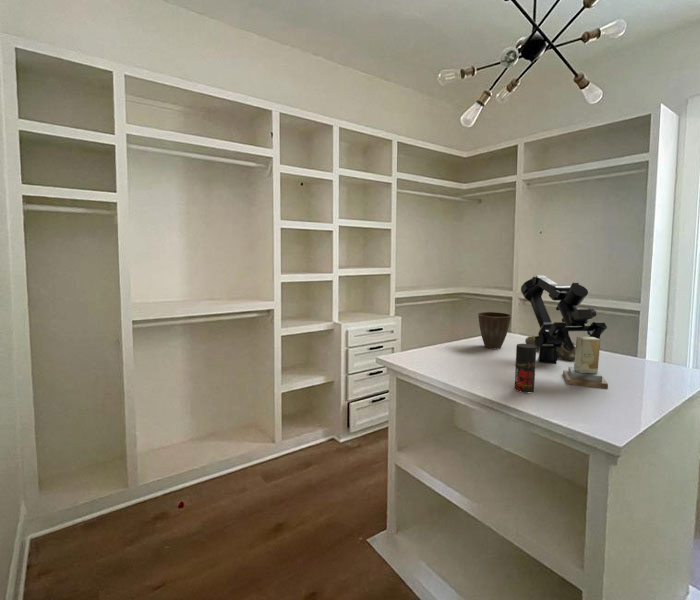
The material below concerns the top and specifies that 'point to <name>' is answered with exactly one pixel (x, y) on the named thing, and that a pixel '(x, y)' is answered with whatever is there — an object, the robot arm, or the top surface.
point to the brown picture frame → (584, 378)
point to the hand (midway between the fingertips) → (585, 349)
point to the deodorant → (525, 367)
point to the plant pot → (494, 328)
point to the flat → (562, 352)
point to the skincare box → (587, 354)
